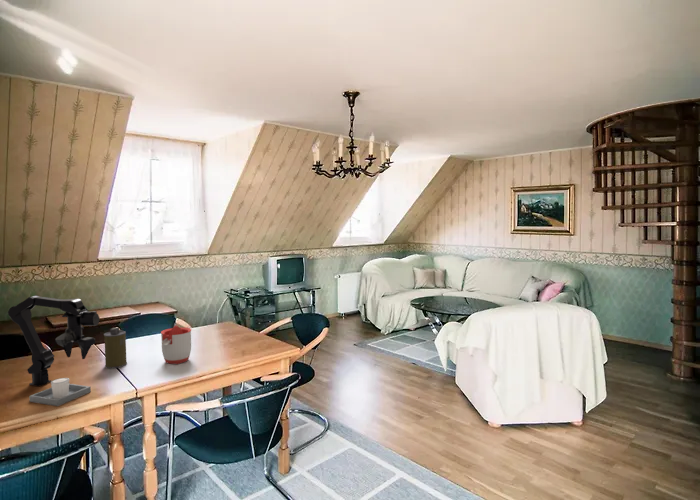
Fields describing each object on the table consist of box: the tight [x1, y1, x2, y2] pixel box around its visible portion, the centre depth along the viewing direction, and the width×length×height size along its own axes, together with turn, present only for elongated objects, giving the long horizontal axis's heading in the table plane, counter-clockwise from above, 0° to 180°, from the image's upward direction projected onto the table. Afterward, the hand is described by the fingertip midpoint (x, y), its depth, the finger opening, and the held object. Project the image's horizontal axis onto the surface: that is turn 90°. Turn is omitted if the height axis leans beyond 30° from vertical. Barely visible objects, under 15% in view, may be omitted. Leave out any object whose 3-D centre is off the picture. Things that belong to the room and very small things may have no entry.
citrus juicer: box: [160, 325, 192, 365], centre depth 240 cm, size 16×17×20 cm
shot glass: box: [50, 377, 70, 399], centre depth 193 cm, size 7×7×7 cm
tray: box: [28, 383, 92, 407], centre depth 193 cm, size 16×16×2 cm
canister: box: [103, 327, 128, 369], centre depth 235 cm, size 11×10×20 cm
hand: (76, 358), depth 209 cm, fingers open, 9 cm apart
